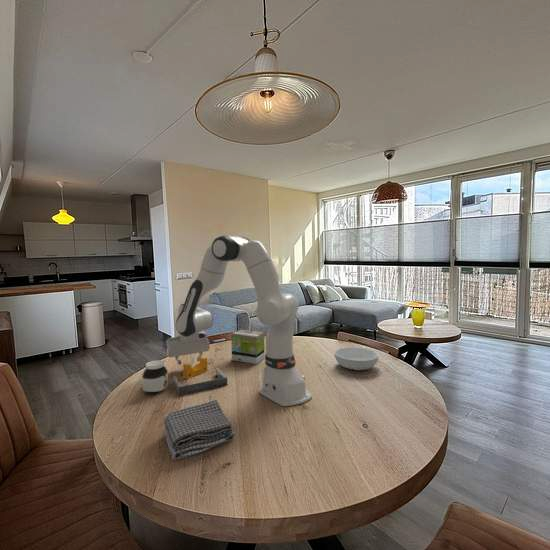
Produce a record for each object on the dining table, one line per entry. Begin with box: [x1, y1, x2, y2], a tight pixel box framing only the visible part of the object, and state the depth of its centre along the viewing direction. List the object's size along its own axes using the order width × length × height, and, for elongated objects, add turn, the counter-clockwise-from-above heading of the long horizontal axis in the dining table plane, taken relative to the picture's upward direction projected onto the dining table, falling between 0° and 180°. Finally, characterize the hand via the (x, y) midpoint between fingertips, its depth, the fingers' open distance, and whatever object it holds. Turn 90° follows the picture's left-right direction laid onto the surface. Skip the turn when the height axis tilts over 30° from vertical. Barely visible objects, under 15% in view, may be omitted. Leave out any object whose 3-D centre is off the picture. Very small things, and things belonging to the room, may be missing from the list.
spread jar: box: [140, 360, 169, 395], centre depth 123 cm, size 12×11×12 cm
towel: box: [163, 399, 236, 461], centre depth 90 cm, size 15×18×8 cm
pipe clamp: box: [182, 356, 208, 380], centre depth 140 cm, size 12×4×6 cm, turn 145°
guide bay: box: [172, 367, 228, 396], centre depth 128 cm, size 13×20×3 cm, turn 118°
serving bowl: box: [334, 346, 379, 371], centre depth 146 cm, size 21×21×7 cm
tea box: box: [230, 329, 265, 365], centre depth 157 cm, size 15×10×15 cm, turn 67°
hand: (189, 362), depth 147 cm, fingers open, 8 cm apart
